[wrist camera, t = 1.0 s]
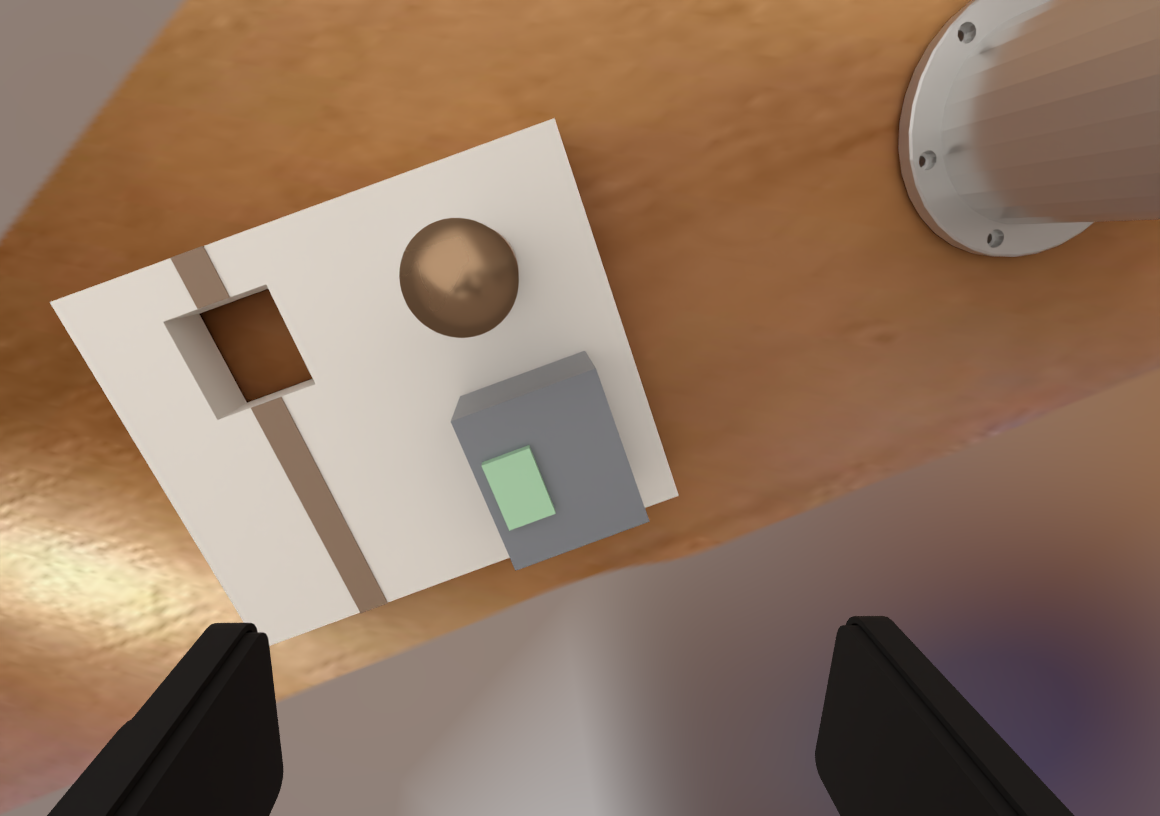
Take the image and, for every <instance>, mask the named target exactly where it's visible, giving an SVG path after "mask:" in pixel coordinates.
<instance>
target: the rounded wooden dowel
mask: <svg viewBox="0 0 1160 816" xmlns="http://www.w3.org/2000/svg"><path fill="white" fill-rule="evenodd" d="M399 279H400V287H401V291H402V294H403V297H404V300H405V302H406V304H407V306H408V307H409V309H410V310H411V312H412V313H413V314H414V316H415V317H416V318H417V319H418V320H419V321H420V322H421V323H422V324H424V325H425V326H426V327H428V328H429V329H431V330H433V331H435V332H437V333H439V334H442V335H445V336H449V337H456V338H469V337H475V336H478V335H482V334H484V333H486V332H488V331H490V330H492V329H493V328H495V327H496V326H497V325H499V324H500V323H501V322H502V321H503V320H504V319H505V318H506V316H507V315H508V314H509V312H510V311H511V309H512V307H513V305H514V303H515V300H516V297H517V293H518V286H519V271H518V259H517V255H516V252H515V250H514V248H513V246H512V245H511V243H510V242H509V241H508V240H507V239H506V238H505V237H504V236H503V235H501V234H500V233H498V232H496V231H495V230H493V229H491V228H489V227H488V226H486V225H484V224H482V223H479V222H477V221H474V220H470V219H465V218H448V219H442V220H439V221H436V222H433V223H431V224H429V225H427V226H426V227H424V228H423V229H421V230H420V231H419V232H418V233H417V234H416V235H415V236H414V237H413V238H412V239H411V241H410V242H409V244H408V245H407V247H406V249H405V251H404V253H403V256H402V259H401V264H400V271H399Z"/></svg>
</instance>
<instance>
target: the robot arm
mask: <svg viewBox="0 0 1160 816" xmlns="http://www.w3.org/2000/svg"><path fill="white" fill-rule="evenodd" d="M898 150H899V158H900V165H901V173H902V177H903V180H904V183H905V186H906V189H907V192H908V195H909V198H910V200H911V201H912V203H913V205H914V207H915V208H916V210H917V212H918V214H919V215H920V217H921V218H922V219H923V221H924V222H925V223H926V224H927V225H928V226H929V227H930V228H931V229H932V231H933V232H934V233H935V234H937V235H938V236H939V237H941V238H942V239H944V240H945V241H947V242H948V243H949V244H951V245H952V246H955V247H957V248H960V249H962V250H965V251H967V252H970V253H973V254H979V255H986V256H992V257H1017V256H1024V255H1030V254H1036V253H1040V252H1042V251H1045V250H1048V249H1051V248H1053V247H1056V246H1059V245H1061V244H1063V243H1064V242H1066V241H1068V240H1070V239H1071V238H1073V237H1075V236H1076V235H1078V234H1080V233H1082V232H1083V231H1084V230H1085V229H1086V228H1088V227H1089V226H1090V225H1091V224H1092V223H1094V222H1102V221H1129V220H1156V219H1160V0H972V1H970V2H968V3H967V4H966V5H965V6H964V7H963V8H962V9H960V10H959V11H958V12H957V13H956V14H955V15H954V16H953V17H951V18H950V19H949V20H948V21H947V22H946V24H945V25H944V26H943V27H942V29H941V30H940V31H939V32H938V34H937V35H936V36H935V37H934V38H933V40H932V41H931V42H930V44H929V45H928V47H927V49H926V51H925V52H924V54H923V56H922V58H921V59H920V61H919V63H918V65H917V66H916V68H915V71H914V73H913V76H912V78H911V81H910V84H909V86H908V89H907V92H906V94H905V98H904V103H903V108H902V113H901V118H900V123H899V147H898ZM919 161H920V164H919ZM815 760H816V766H817V770H818V773H819V776H820V778H821V780H822V782H823V784H824V786H825V787H826V789H827V791H828V793H829V795H830V797H831V799H832V801H833V803H834V804H835V806H836V808H837V810H838V812H839V814H840V816H1074V815H1073V814H1072V813H1071V812H1070V811H1069V809H1067V807H1066V806H1065V805H1064V804H1063V803H1062V802H1061V801H1060V800H1059V799H1058V798H1057V797H1056V796H1055V794H1054V793H1053V792H1052V791H1051V790H1050V789H1049V788H1048V787H1047V786H1046V785H1045V784H1044V783H1043V782H1042V781H1041V780H1040V778H1039V777H1038V776H1037V775H1036V774H1035V773H1034V772H1033V771H1032V770H1031V769H1030V768H1029V767H1028V766H1027V765H1026V763H1024V761H1023V760H1022V759H1021V758H1020V757H1019V756H1018V755H1017V754H1016V753H1015V752H1014V751H1013V750H1012V749H1011V747H1010V746H1009V745H1008V744H1007V743H1006V742H1005V741H1004V740H1003V739H1002V738H1001V737H1000V736H999V735H998V733H996V732H995V730H994V729H993V728H992V727H991V726H990V725H989V724H988V723H987V722H986V721H985V720H984V719H983V717H982V716H980V714H979V713H978V712H977V711H976V710H975V709H974V708H973V707H972V706H971V705H970V704H969V702H968V701H967V700H966V699H965V698H964V697H963V696H962V695H961V694H960V693H959V692H958V691H957V690H956V689H955V687H954V686H952V684H951V683H950V682H949V681H948V680H947V679H946V678H945V677H944V676H943V675H942V674H941V673H940V671H939V670H938V669H937V668H936V667H935V666H934V665H933V664H932V663H931V662H930V661H929V660H928V659H927V658H926V657H925V655H924V654H923V653H922V652H921V651H920V650H919V649H918V648H917V647H916V646H915V645H914V644H913V642H911V640H910V639H909V638H908V637H907V636H906V635H905V634H904V633H903V632H902V631H901V630H900V629H899V628H898V627H897V626H896V624H895V623H894V622H893V621H892V620H890V619H889V618H888V617H885V616H854V617H851V618H849V620H848V621H847V623H846V625H843V626H840V628H839V629H838V632H837V636H836V641H835V647H834V652H833V658H832V663H831V668H830V674H829V679H828V685H827V691H826V696H825V702H824V707H823V712H822V717H821V724H820V728H819V734H818V740H817V745H816V751H815ZM282 779H283V762H282V752H281V744H280V735H279V727H278V717H277V709H276V700H275V691H274V683H273V674H272V666H271V657H270V648H269V640H268V636H267V634H266V633H264V632H258V631H257V628H256V626H255V624H253V623H214V624H211V625H210V626H209V627H208V628H207V629H206V630H205V631H204V633H203V634H202V635H201V636H200V637H199V639H198V640H197V641H196V642H195V643H194V645H193V646H192V647H191V648H190V649H189V651H188V652H187V653H186V654H185V656H184V657H183V658H182V659H181V660H180V662H179V663H178V664H177V665H176V666H175V668H174V669H173V670H172V671H171V672H170V674H169V675H168V676H167V677H166V679H165V680H164V681H163V682H162V683H161V685H160V686H159V687H158V688H157V689H156V691H155V692H154V693H153V694H152V695H151V697H150V698H149V699H148V700H147V701H146V703H145V704H144V705H143V706H142V708H141V709H140V710H139V711H138V712H137V714H136V715H135V716H134V717H133V718H132V720H130V721H128V722H127V723H126V724H125V725H123V726H122V727H121V728H120V729H119V730H118V731H117V733H116V734H115V735H114V736H113V737H112V739H111V740H110V741H109V742H108V743H107V745H106V746H105V747H104V748H103V749H102V751H101V752H100V753H99V754H98V755H97V756H96V758H95V759H94V760H93V761H92V762H91V764H90V765H89V766H88V767H87V768H86V770H85V771H84V772H83V773H82V774H81V776H80V777H79V778H78V779H77V780H76V782H75V783H74V784H73V785H72V786H71V788H70V789H69V790H68V791H67V792H66V794H65V795H64V796H63V797H62V798H61V800H60V801H59V802H58V803H57V805H56V806H55V807H54V808H53V809H52V810H51V812H50V813H49V814H48V815H47V816H269V815H270V813H271V810H272V808H273V806H274V804H275V801H276V799H277V797H278V794H279V791H280V788H281V784H282Z"/></svg>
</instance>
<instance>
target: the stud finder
mask: <svg viewBox="0 0 1160 816" xmlns="http://www.w3.org/2000/svg"><path fill="white" fill-rule="evenodd" d="M451 424H452V426H453V428H454V431H455V433H456V435H457V437H458V440H459V442H460V444H461V447H462V449H463V451H464V454H465V456H466V458H467V460H468V463H469V465H470V467H471V470H472V472H473V474H474V477H475V479H476V481H477V483H478V486H479V488H480V490H481V493H482V495H483V497H484V500H485V502H486V504H487V506H488V509H489V511H490V513H491V516H492V518H493V520H494V522H495V525H496V527H497V529H498V532H499V534H500V536H501V539H502V541H503V543H504V545H505V548H506V550H507V552H508V555H509V557H510V559H511V562H512V564H513V566H514V568H515V571H516V570H519V569H521V568H524V567H527V566H530V565H532V564H535V563H538V562H540V561H543V560H546V559H549V558H551V557H554V556H557V555H560V554H562V553H565V552H568V551H570V550H573V549H576V548H579V547H581V546H584V545H587V544H589V543H592V542H595V541H598V540H600V539H603V538H606V537H609V536H611V535H614V534H617V533H619V532H622V531H625V530H628V529H630V528H633V527H636V526H639V525H641V524H644V523H647V522H649V518H648V516H647V513H646V510H645V507H644V504H643V501H642V498H641V496H640V493H639V490H638V487H637V484H636V481H635V478H634V476H633V473H632V470H631V467H630V464H629V461H628V458H627V456H626V453H625V450H624V447H623V444H622V441H621V438H620V436H619V433H618V430H617V427H616V424H615V421H614V418H613V416H612V413H611V410H610V407H609V404H608V401H607V398H606V396H605V393H604V390H603V387H602V384H601V381H600V378H599V376H598V373H597V370H596V368H595V366H594V364H593V363H592V361H591V360H590V358H589V356H588V355H587V353H586V352H585V351H582V352H580V353H577V354H574V355H571V356H569V357H566V358H563V359H561V360H558V361H555V362H552V363H550V364H547V365H544V366H541V367H539V368H536V369H533V370H531V371H528V372H525V373H522V374H520V375H517V376H514V377H511V378H509V379H506V380H503V381H500V382H498V383H495V384H492V385H490V386H487V387H484V388H481V389H479V390H476V391H473V392H470V393H468V394H465V395H462V396H460V398H459V400H458V403H457V406H456V408H455V411H454V414H453V416H452V419H451Z"/></svg>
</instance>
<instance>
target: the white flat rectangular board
mask: <svg viewBox="0 0 1160 816" xmlns="http://www.w3.org/2000/svg"><path fill="white" fill-rule="evenodd" d="M448 218H465V219H470V220H474V221H477V222H479V223H482V224H484V225H486V226H488V227H489V228H491V229H493V230H495V231H496V232H498V233H500V234H501V235H503V236H504V237H505V238H506V239H507V240H508V241H509V242H510V243H511V245H512V246H513V248H514V250H515V252H516V255H517V259H518V271H519V286H518V293H517V297H516V300H515V303H514V305H513V307H512V309H511V311H510V312H509V314H508V315H507V316H506V318H505V319H504V320H503V321H502V322H501V323H500V324H499V325H497V326H496V327H495V328H493V329H492V330H490V331H488V332H486V333H484V334H482V335H478V336H475V337H469V338H456V337H449V336H445V335H442V334H439V333H437V332H435V331H433V330H431V329H429V328H428V327H426V326H425V325H424V324H422V323H421V322H420V321H419V320H418V319H417V318H416V317H415V316H414V314H413V313H412V312H411V310H410V309H409V307H408V306H407V304H406V302H405V300H404V297H403V294H402V291H401V287H400V279H399V271H400V264H401V259H402V256H403V253H404V251H405V249H406V247H407V245H408V244H409V242H410V241H411V239H412V238H413V237H414V236H415V235H416V234H417V233H418V232H419V231H420V230H421V229H423V228H424V227H426V226H427V225H429V224H431V223H433V222H436V221H439V220H442V219H448ZM266 289H269V291H270V293H271V295H272V297H273V299H274V301H275V303H276V305H277V307H278V309H279V311H280V313H281V315H282V317H283V320H284V322H285V324H286V326H287V328H288V330H289V332H290V334H291V336H292V338H293V340H294V342H295V344H296V346H297V348H298V350H299V352H300V354H301V356H302V358H303V360H304V362H305V364H306V366H307V368H308V370H309V372H310V374H311V376H312V378H313V379H310V380H308V381H305V382H302V383H299V384H297V385H294V386H291V387H289V388H286V389H283V390H280V391H278V392H275V393H272V394H269V395H267V396H264V397H261V398H258V399H256V400H253V401H250V402H248V403H247V402H246V400H245V398H244V396H243V395H242V393H241V391H240V389H239V387H238V385H237V383H236V382H235V380H234V378H233V376H232V374H231V372H230V370H229V368H228V367H227V365H226V363H225V361H224V359H223V357H222V355H221V354H220V352H219V350H218V348H217V346H216V344H215V342H214V340H213V339H212V337H211V335H210V333H209V331H208V329H207V327H206V326H205V324H204V322H203V320H202V318H201V316H200V313H203V312H206V311H208V310H211V309H214V308H217V307H219V306H222V305H225V304H227V303H230V302H233V301H236V300H238V299H241V298H244V297H247V296H249V295H252V294H255V293H258V292H260V291H263V290H266ZM50 304H51V305H52V307H53V308H54V310H55V312H56V313H57V315H58V317H59V318H60V320H61V322H62V323H63V325H64V327H65V328H66V330H67V332H68V333H69V335H70V337H71V338H72V340H73V341H74V343H75V345H76V346H77V348H78V350H79V351H80V353H81V355H82V356H83V358H84V360H85V361H86V363H87V365H88V366H89V368H90V370H91V371H92V373H93V374H94V376H95V378H96V379H97V381H98V383H99V384H100V386H101V388H102V389H103V391H104V393H105V394H106V396H107V398H108V399H109V401H110V402H111V404H112V406H113V407H114V409H115V411H116V412H117V414H118V416H119V417H120V419H121V421H122V422H123V424H124V426H125V427H126V429H127V431H128V432H129V434H130V435H131V437H132V439H133V440H134V442H135V444H136V445H137V447H138V449H139V450H140V452H141V454H142V455H143V457H144V459H145V460H146V462H147V464H148V465H149V467H150V468H151V470H152V472H153V473H154V475H155V477H156V478H157V480H158V482H159V483H160V485H161V487H162V488H163V490H164V492H165V493H166V495H167V497H168V498H169V500H170V501H171V503H172V505H173V506H174V508H175V510H176V511H177V513H178V515H179V516H180V518H181V520H182V521H183V523H184V525H185V526H186V528H187V529H188V531H189V533H190V534H191V536H192V538H193V539H194V541H195V543H196V544H197V546H198V548H199V549H200V551H201V553H202V554H203V556H204V558H205V559H206V561H207V562H208V564H209V566H210V567H211V569H212V571H213V572H214V574H215V576H216V577H217V579H218V581H219V582H220V584H221V586H222V587H223V589H224V591H225V592H226V594H227V595H228V597H229V599H230V600H231V602H232V604H233V605H234V607H235V609H236V610H237V612H238V614H239V615H240V617H241V619H242V620H243V622H244V623H253V624H255V626H256V628H257V631H258V632H264V633H266V634H267V636H268V640H269V646H270V645H273V644H276V643H279V642H281V641H284V640H287V639H289V638H292V637H295V636H298V635H300V634H303V633H306V632H308V631H311V630H314V629H317V628H319V627H322V626H325V625H328V624H330V623H333V622H336V621H338V620H341V619H344V618H347V617H349V616H352V615H355V614H358V613H363V612H366V611H368V610H371V609H374V608H377V607H379V606H382V605H385V604H387V603H388V602H390V601H393V600H396V599H398V598H401V597H404V596H407V595H409V594H412V593H415V592H417V591H420V590H423V589H426V588H428V587H431V586H434V585H437V584H439V583H442V582H445V581H447V580H450V579H453V578H456V577H458V576H461V575H464V574H466V573H469V572H472V571H475V570H477V569H480V568H483V567H486V566H488V565H491V564H494V563H496V562H499V561H502V560H505V559H507V558H510V557H509V555H508V552H507V550H506V548H505V545H504V543H503V541H502V539H501V536H500V534H499V532H498V529H497V527H496V525H495V522H494V520H493V518H492V516H491V513H490V511H489V509H488V506H487V504H486V502H485V500H484V497H483V495H482V493H481V490H480V488H479V486H478V483H477V481H476V479H475V477H474V474H473V472H472V470H471V467H470V465H469V463H468V460H467V458H466V456H465V454H464V451H463V449H462V447H461V444H460V442H459V440H458V437H457V435H456V433H455V431H454V428H453V426H452V424H451V419H452V416H453V414H454V411H455V408H456V406H457V403H458V400H459V398H460V396H462V395H465V394H468V393H470V392H473V391H476V390H479V389H481V388H484V387H487V386H490V385H492V384H495V383H498V382H500V381H503V380H506V379H509V378H511V377H514V376H517V375H520V374H522V373H525V372H528V371H531V370H533V369H536V368H539V367H541V366H544V365H547V364H550V363H552V362H555V361H558V360H561V359H563V358H566V357H569V356H571V355H574V354H577V353H580V352H582V351H585V352H586V353H587V355H588V356H589V358H590V360H591V361H592V363H593V364H594V366H595V368H596V370H597V373H598V376H599V378H600V381H601V384H602V387H603V390H604V393H605V396H606V398H607V401H608V404H609V407H610V410H611V413H612V416H613V418H614V421H615V424H616V427H617V430H618V433H619V436H620V438H621V441H622V444H623V447H624V450H625V453H626V456H627V458H628V461H629V464H630V467H631V470H632V473H633V476H634V478H635V481H636V484H637V487H638V490H639V493H640V496H641V498H642V501H643V504H644V507H645V508H646V507H649V506H652V505H654V504H657V503H660V502H663V501H665V500H668V499H671V498H673V497H676V496H679V495H678V492H677V489H676V486H675V483H674V480H673V477H672V474H671V471H670V468H669V465H668V462H667V459H666V456H665V453H664V450H663V446H662V443H661V440H660V437H659V434H658V431H657V428H656V425H655V422H654V419H653V416H652V413H651V410H650V407H649V404H648V401H647V398H646V395H645V392H644V389H643V386H642V383H641V380H640V377H639V374H638V371H637V368H636V364H635V361H634V358H633V355H632V352H631V349H630V346H629V343H628V340H627V337H626V334H625V331H624V328H623V325H622V322H621V319H620V316H619V313H618V310H617V307H616V304H615V301H614V298H613V295H612V292H611V289H610V286H609V283H608V279H607V276H606V273H605V270H604V267H603V264H602V261H601V258H600V255H599V252H598V249H597V246H596V243H595V240H594V237H593V234H592V231H591V228H590V225H589V222H588V219H587V216H586V213H585V210H584V207H583V204H582V201H581V197H580V194H579V191H578V188H577V185H576V182H575V179H574V176H573V173H572V170H571V167H570V164H569V161H568V158H567V155H566V152H565V149H564V146H563V143H562V140H561V137H560V134H559V131H558V128H557V125H556V122H555V119H551V120H548V121H545V122H543V123H540V124H537V125H534V126H532V127H529V128H526V129H523V130H521V131H518V132H515V133H512V134H510V135H507V136H504V137H502V138H499V139H496V140H493V141H491V142H488V143H485V144H482V145H480V146H477V147H474V148H471V149H469V150H466V151H463V152H460V153H458V154H455V155H452V156H449V157H447V158H444V159H441V160H438V161H436V162H433V163H430V164H427V165H425V166H422V167H419V168H417V169H414V170H411V171H408V172H406V173H403V174H400V175H397V176H395V177H392V178H389V179H386V180H384V181H381V182H378V183H375V184H373V185H370V186H367V187H364V188H362V189H359V190H356V191H353V192H351V193H348V194H345V195H343V196H340V197H337V198H334V199H332V200H329V201H326V202H323V203H321V204H318V205H315V206H312V207H310V208H307V209H304V210H301V211H299V212H296V213H293V214H290V215H288V216H285V217H282V218H279V219H277V220H274V221H271V222H269V223H266V224H263V225H260V226H258V227H255V228H252V229H249V230H247V231H244V232H241V233H238V234H236V235H233V236H230V237H227V238H225V239H222V240H219V241H216V242H214V243H211V244H208V245H205V246H202V247H199V248H196V249H193V250H191V251H188V252H185V253H182V254H180V255H177V256H174V257H171V258H170V259H167V260H164V261H162V262H159V263H156V264H153V265H151V266H148V267H145V268H142V269H140V270H137V271H134V272H131V273H129V274H126V275H123V276H120V277H118V278H115V279H112V280H110V281H107V282H104V283H101V284H99V285H96V286H93V287H90V288H88V289H85V290H82V291H79V292H77V293H74V294H71V295H68V296H66V297H63V298H60V299H57V300H55V301H52V302H50Z"/></svg>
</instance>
